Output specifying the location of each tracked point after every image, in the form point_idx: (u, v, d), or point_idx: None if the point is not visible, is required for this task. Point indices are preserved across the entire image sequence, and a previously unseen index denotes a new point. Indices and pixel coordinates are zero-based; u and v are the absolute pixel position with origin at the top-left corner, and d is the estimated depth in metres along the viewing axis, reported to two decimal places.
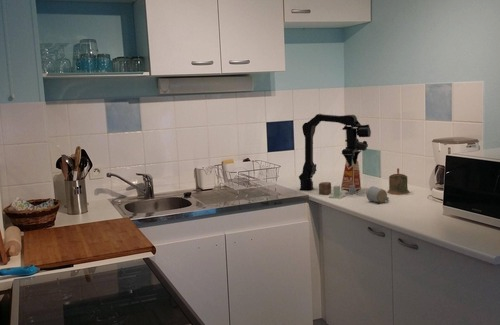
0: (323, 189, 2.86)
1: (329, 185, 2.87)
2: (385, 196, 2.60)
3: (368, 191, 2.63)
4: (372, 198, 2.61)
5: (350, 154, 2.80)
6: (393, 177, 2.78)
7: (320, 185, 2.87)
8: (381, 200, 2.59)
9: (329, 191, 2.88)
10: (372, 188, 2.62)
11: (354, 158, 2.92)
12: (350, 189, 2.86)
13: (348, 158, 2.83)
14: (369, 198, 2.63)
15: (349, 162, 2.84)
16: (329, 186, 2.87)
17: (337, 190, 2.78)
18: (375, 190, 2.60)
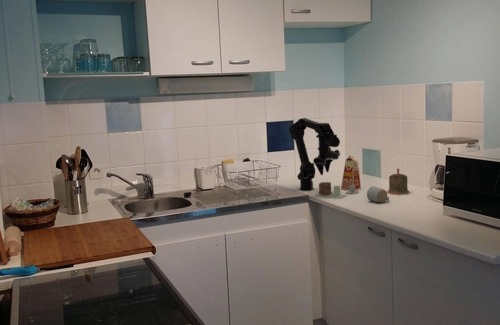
0: (323, 189, 2.86)
1: (329, 185, 2.87)
2: (385, 196, 2.60)
3: (368, 191, 2.63)
4: (372, 198, 2.61)
5: (321, 163, 2.79)
6: (393, 177, 2.78)
7: (320, 185, 2.87)
8: (381, 200, 2.59)
9: (329, 191, 2.88)
10: (372, 188, 2.63)
11: (326, 166, 2.91)
12: (350, 189, 2.86)
13: (319, 167, 2.82)
14: (369, 198, 2.63)
15: (320, 171, 2.83)
16: (329, 186, 2.87)
17: (337, 190, 2.78)
18: (376, 190, 2.60)
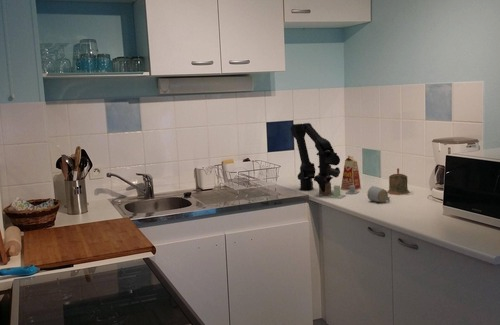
0: None
1: (329, 185, 2.87)
2: (386, 196, 2.60)
3: (369, 191, 2.63)
4: (373, 198, 2.61)
5: (323, 180, 2.82)
6: (393, 177, 2.78)
7: None
8: (382, 200, 2.59)
9: (329, 191, 2.88)
10: (373, 188, 2.63)
11: None
12: (350, 189, 2.86)
13: (321, 184, 2.85)
14: (370, 198, 2.63)
15: (322, 188, 2.86)
16: (329, 186, 2.87)
17: (337, 190, 2.78)
18: (376, 190, 2.60)
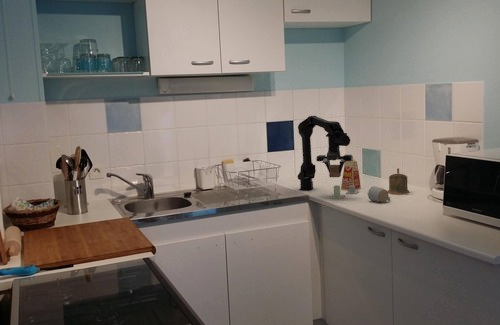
0: None
1: (334, 168, 2.76)
2: (386, 196, 2.61)
3: (369, 191, 2.63)
4: (373, 198, 2.61)
5: (323, 161, 2.79)
6: (393, 177, 2.78)
7: None
8: (382, 200, 2.60)
9: (333, 174, 2.77)
10: (373, 188, 2.63)
11: None
12: (350, 189, 2.86)
13: None
14: (370, 198, 2.64)
15: None
16: (334, 169, 2.76)
17: (337, 190, 2.78)
18: (377, 190, 2.60)
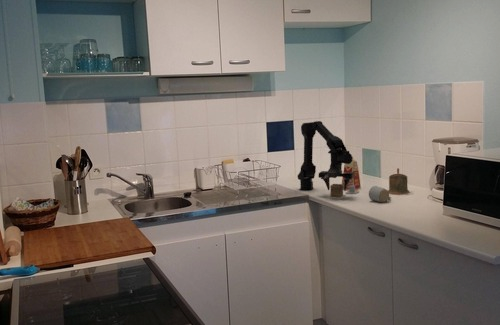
0: None
1: (335, 188, 2.77)
2: (387, 196, 2.61)
3: (370, 191, 2.64)
4: (374, 197, 2.62)
5: None
6: (393, 177, 2.78)
7: None
8: (383, 199, 2.60)
9: (335, 194, 2.77)
10: (374, 188, 2.63)
11: None
12: (350, 189, 2.86)
13: None
14: (371, 197, 2.64)
15: None
16: (335, 189, 2.77)
17: None
18: (378, 190, 2.61)
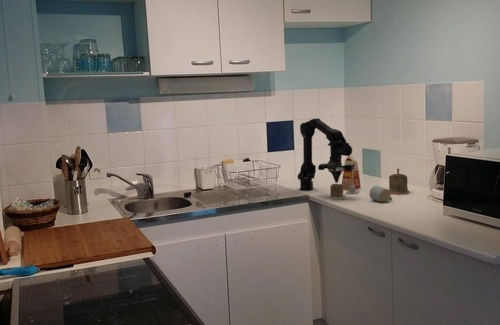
0: None
1: (335, 188, 2.77)
2: (388, 195, 2.61)
3: (371, 190, 2.64)
4: (375, 197, 2.62)
5: (329, 170, 2.78)
6: (393, 177, 2.78)
7: None
8: (384, 199, 2.60)
9: (335, 194, 2.77)
10: (375, 187, 2.64)
11: None
12: (350, 189, 2.86)
13: None
14: (372, 197, 2.64)
15: None
16: (335, 189, 2.77)
17: None
18: (378, 189, 2.61)
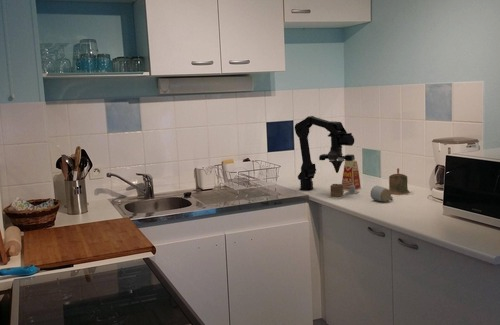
0: None
1: (335, 188, 2.77)
2: (389, 195, 2.62)
3: (372, 190, 2.64)
4: (376, 197, 2.62)
5: (330, 160, 2.84)
6: (393, 177, 2.78)
7: None
8: (385, 199, 2.60)
9: (335, 194, 2.77)
10: (376, 187, 2.64)
11: None
12: (350, 189, 2.86)
13: None
14: (373, 197, 2.64)
15: None
16: (335, 189, 2.77)
17: None
18: (379, 189, 2.61)
